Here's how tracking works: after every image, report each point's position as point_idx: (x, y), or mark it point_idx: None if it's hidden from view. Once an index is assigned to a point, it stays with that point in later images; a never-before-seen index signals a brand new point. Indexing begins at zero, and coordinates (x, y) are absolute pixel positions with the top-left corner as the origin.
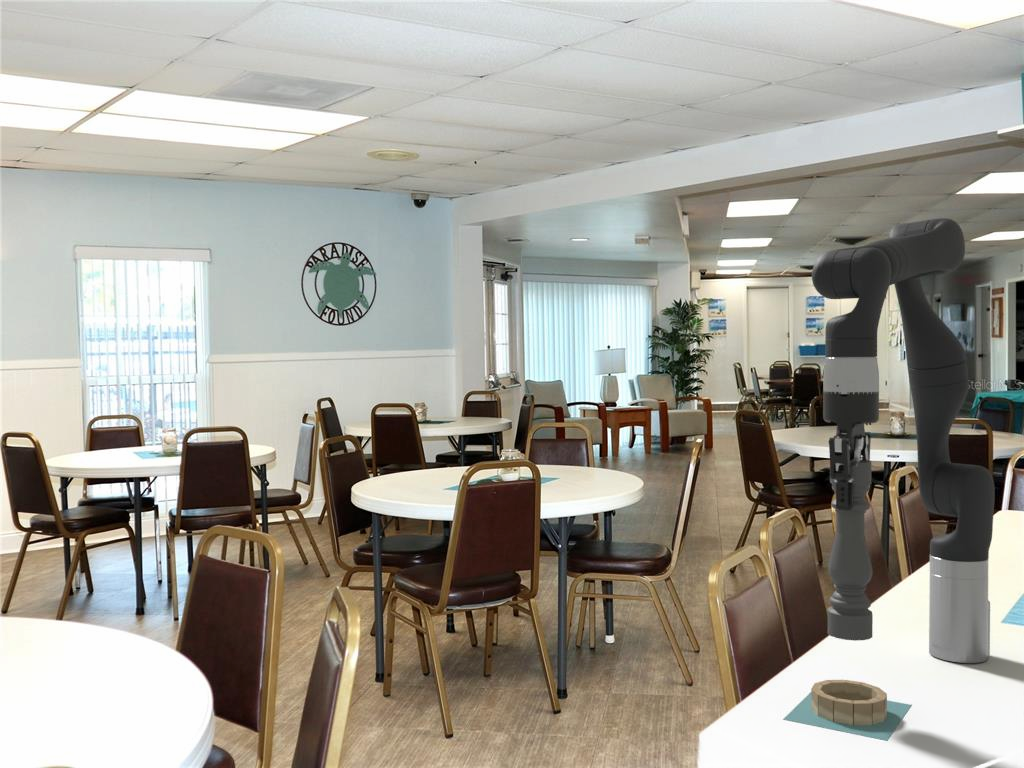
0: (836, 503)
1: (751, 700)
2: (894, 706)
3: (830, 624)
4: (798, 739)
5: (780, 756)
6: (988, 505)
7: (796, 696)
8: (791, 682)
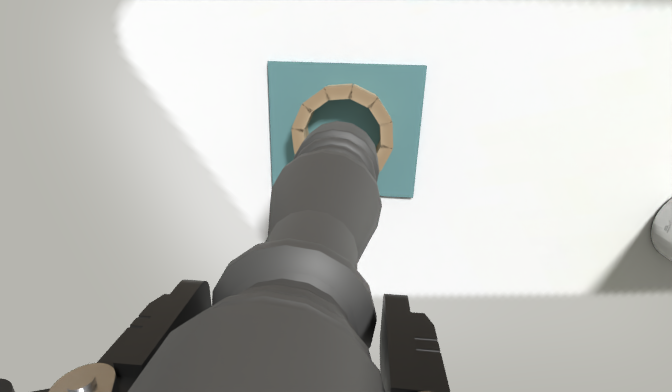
0: (174, 290)
1: None
2: (395, 180)
3: (307, 136)
4: (224, 96)
5: (162, 92)
6: None
7: (382, 46)
8: (447, 19)
